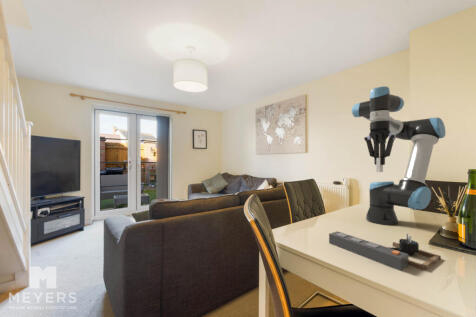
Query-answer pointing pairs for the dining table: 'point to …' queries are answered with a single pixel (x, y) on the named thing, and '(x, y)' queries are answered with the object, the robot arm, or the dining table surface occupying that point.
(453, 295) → the dining table surface
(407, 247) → the power plug
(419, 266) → the bay
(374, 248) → the power strip
